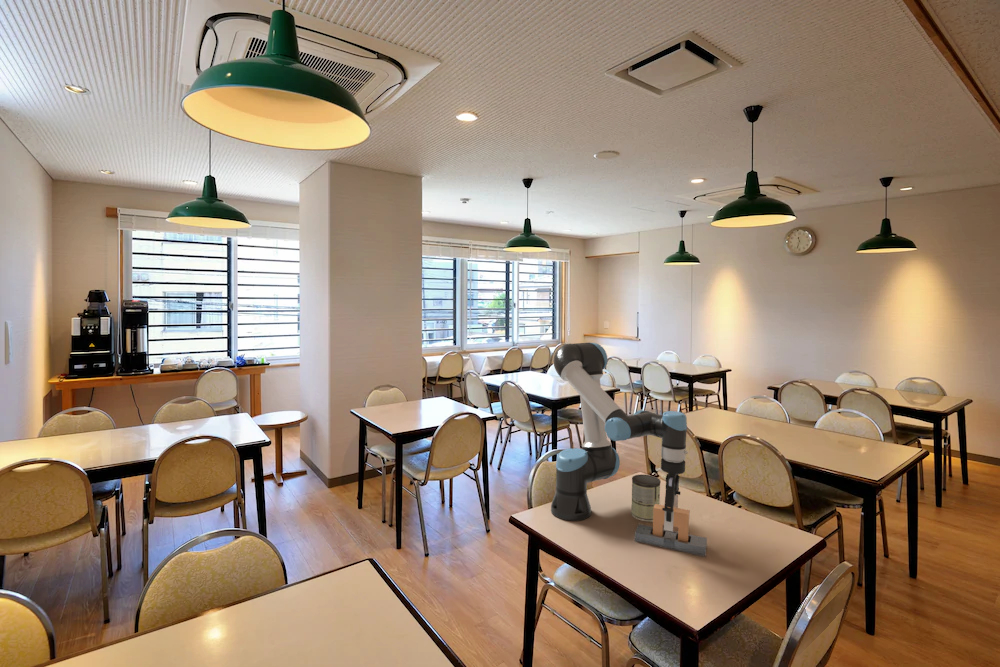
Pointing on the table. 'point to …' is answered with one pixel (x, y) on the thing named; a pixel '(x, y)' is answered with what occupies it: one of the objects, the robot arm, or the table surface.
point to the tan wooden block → (679, 521)
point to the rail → (671, 540)
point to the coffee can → (644, 496)
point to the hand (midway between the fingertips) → (671, 521)
